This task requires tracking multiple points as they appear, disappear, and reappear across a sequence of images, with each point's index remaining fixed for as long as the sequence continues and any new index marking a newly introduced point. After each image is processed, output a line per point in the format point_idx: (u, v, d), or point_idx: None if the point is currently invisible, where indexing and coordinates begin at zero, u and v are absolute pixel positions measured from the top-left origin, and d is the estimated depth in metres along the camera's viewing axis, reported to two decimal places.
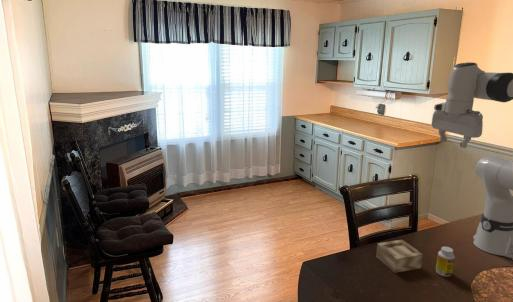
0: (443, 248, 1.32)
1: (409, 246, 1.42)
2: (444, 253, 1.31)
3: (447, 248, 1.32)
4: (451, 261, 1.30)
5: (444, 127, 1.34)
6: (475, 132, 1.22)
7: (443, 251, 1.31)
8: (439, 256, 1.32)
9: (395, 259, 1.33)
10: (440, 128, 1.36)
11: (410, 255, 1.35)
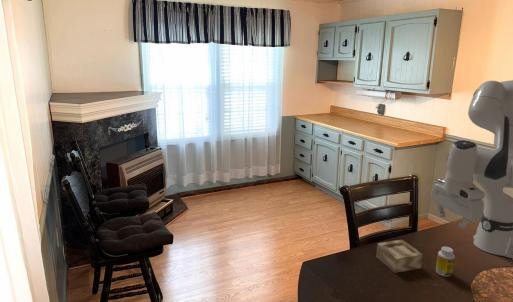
0: (443, 248, 1.32)
1: (409, 246, 1.42)
2: (444, 253, 1.31)
3: (447, 248, 1.32)
4: (451, 261, 1.30)
5: None
6: None
7: (443, 251, 1.31)
8: (439, 256, 1.32)
9: (395, 259, 1.33)
10: None
11: (410, 255, 1.35)
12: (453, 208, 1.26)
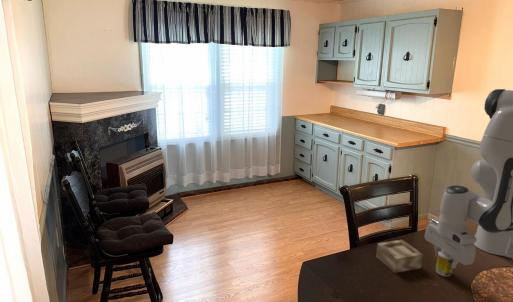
0: None
1: (409, 246, 1.42)
2: (444, 253, 1.31)
3: None
4: (451, 261, 1.30)
5: None
6: None
7: (443, 251, 1.31)
8: (439, 256, 1.32)
9: (395, 259, 1.33)
10: None
11: (410, 255, 1.35)
12: (446, 250, 1.30)
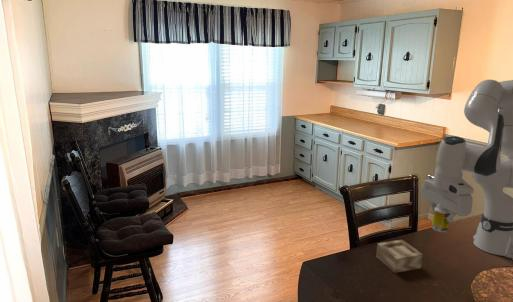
0: None
1: (409, 246, 1.42)
2: (440, 208, 1.28)
3: None
4: (448, 215, 1.27)
5: None
6: None
7: (439, 206, 1.28)
8: (435, 211, 1.29)
9: (395, 259, 1.33)
10: None
11: (410, 255, 1.35)
12: (443, 203, 1.27)
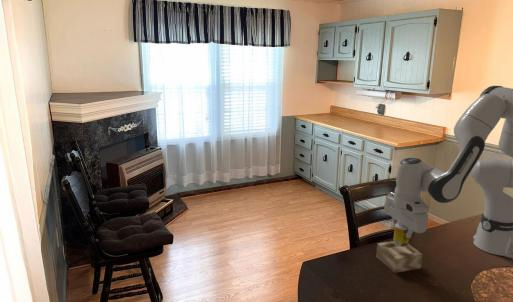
0: None
1: (409, 246, 1.42)
2: (400, 224, 1.36)
3: None
4: None
5: None
6: None
7: (399, 222, 1.36)
8: (396, 227, 1.37)
9: (395, 259, 1.33)
10: None
11: (410, 255, 1.35)
12: (402, 220, 1.35)
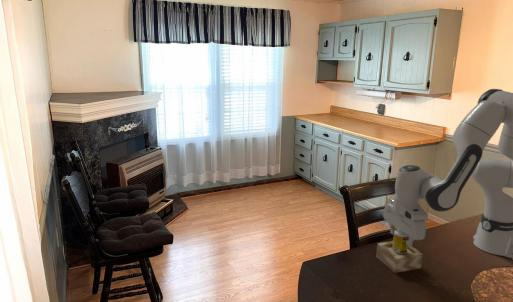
0: None
1: (409, 246, 1.42)
2: (399, 231, 1.37)
3: None
4: (405, 239, 1.36)
5: None
6: None
7: (398, 229, 1.37)
8: (395, 234, 1.38)
9: (395, 259, 1.33)
10: None
11: (410, 255, 1.35)
12: (401, 227, 1.35)
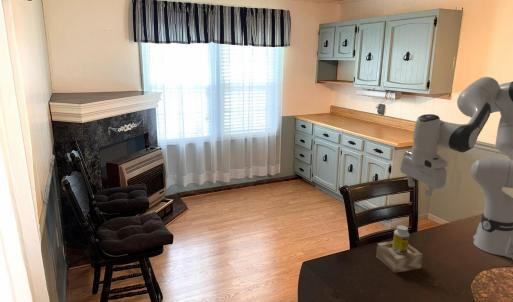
0: (398, 227, 1.38)
1: (409, 246, 1.42)
2: (399, 231, 1.37)
3: (402, 227, 1.38)
4: (405, 239, 1.36)
5: None
6: None
7: (398, 229, 1.37)
8: (395, 234, 1.38)
9: (395, 259, 1.33)
10: None
11: (410, 255, 1.35)
12: (420, 177, 1.35)
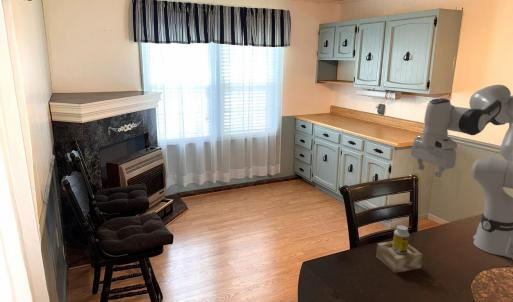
0: (398, 227, 1.38)
1: (409, 246, 1.42)
2: (399, 231, 1.37)
3: (402, 227, 1.38)
4: (405, 239, 1.36)
5: None
6: None
7: (398, 229, 1.37)
8: (395, 234, 1.38)
9: (395, 259, 1.33)
10: None
11: (410, 255, 1.35)
12: (430, 159, 1.40)
